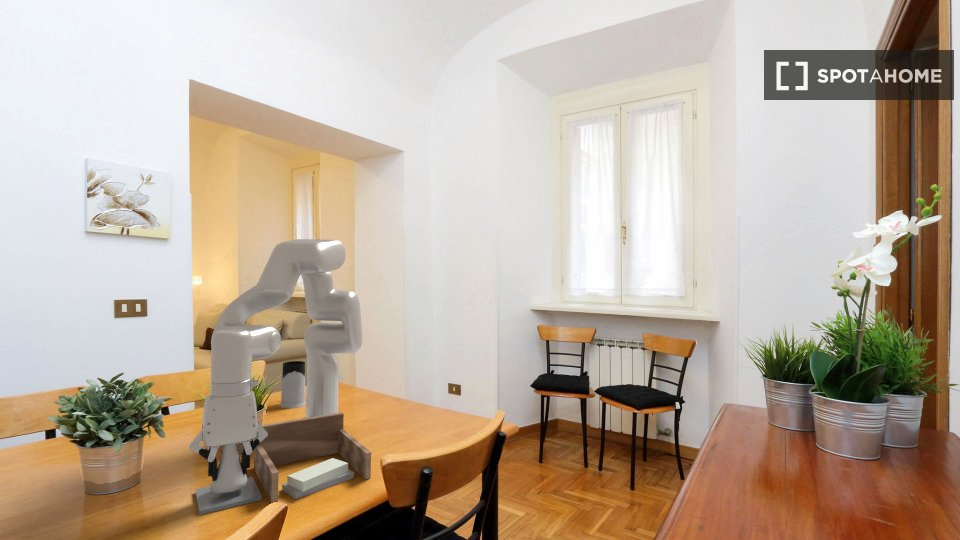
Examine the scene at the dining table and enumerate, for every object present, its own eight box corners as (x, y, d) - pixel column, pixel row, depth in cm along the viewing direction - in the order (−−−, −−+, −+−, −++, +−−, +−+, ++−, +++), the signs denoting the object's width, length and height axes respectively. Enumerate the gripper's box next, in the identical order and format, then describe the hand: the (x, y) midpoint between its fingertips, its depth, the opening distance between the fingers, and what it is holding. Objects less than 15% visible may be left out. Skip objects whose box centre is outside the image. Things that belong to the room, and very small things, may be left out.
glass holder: (280, 409, 159) (281, 365, 160) (279, 399, 172) (280, 359, 172) (307, 406, 163) (307, 364, 163) (304, 397, 176) (305, 357, 176)
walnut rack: (253, 467, 111) (254, 426, 111) (340, 449, 123) (341, 412, 123) (271, 503, 94) (272, 453, 94) (370, 478, 106) (371, 434, 106)
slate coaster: (195, 492, 98) (195, 489, 98) (252, 480, 104) (252, 476, 104) (199, 515, 89) (199, 510, 89) (261, 499, 95) (261, 496, 95)
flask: (244, 475, 102) (245, 430, 102) (251, 487, 96) (252, 439, 96) (206, 484, 97) (207, 437, 97) (212, 497, 92) (213, 447, 92)
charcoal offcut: (282, 493, 100) (282, 484, 100) (339, 473, 110) (339, 464, 110) (295, 502, 96) (295, 492, 96) (353, 480, 106) (354, 472, 106)
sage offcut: (287, 485, 99) (287, 475, 99) (332, 466, 109) (332, 457, 109) (303, 491, 96) (303, 481, 96) (348, 471, 106) (348, 463, 106)
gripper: (271, 380, 105) (269, 460, 105) (182, 389, 95) (180, 478, 95) (278, 387, 99) (276, 472, 99) (184, 398, 89) (181, 492, 89)
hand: (229, 474), depth 97 cm, fingers closed on flask, 4 cm apart
